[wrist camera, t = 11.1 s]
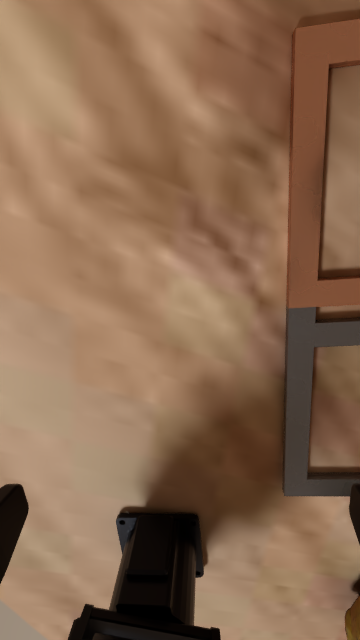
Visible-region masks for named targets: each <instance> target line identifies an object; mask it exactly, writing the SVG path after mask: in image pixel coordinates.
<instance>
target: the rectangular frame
mask: <svg viewBox="0 0 360 640" xmlns="http://www.w3.org/2000/svg"><path fill="white" fill-rule="evenodd" d="M354 65H360V19H354V20H348V21H341V22H334V23H327V24H320V25H313V26H306V27H299V28H295V30H294V32H293V35H292V72H291V118H290V165H289V211H288V257H287V303H286V349H285V395H284V441H283V488H282V489H283V493H284V496H350V495H351V487H352V485H353V484H360V473H307V469H308V450H309V431H310V412H311V393H312V374H313V355H314V347H330V346H353V345H360V318H341V319H322V320H315V317H316V307H322V306H340V305H358V304H360V276H347V277H332V278H318V260H319V241H320V222H321V203H322V184H323V165H324V146H325V127H326V108H327V89H328V70H329V69H331V68H338V67H346V66H354Z"/></svg>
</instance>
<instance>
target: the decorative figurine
mask: <svg viewBox="0 0 360 640" xmlns="http://www.w3.org/2000/svg"><path fill="white" fill-rule="evenodd" d="M345 630H346V635H347V640H360V595H359V597H358V598H357V599H356V600H355V602H354V603H353V605H352V606H351V608H349V609H348V610H347V612H346V614H345Z"/></svg>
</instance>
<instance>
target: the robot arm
mask: <svg viewBox="0 0 360 640" xmlns="http://www.w3.org/2000/svg"><path fill="white" fill-rule="evenodd" d="M28 509H29V507H28V502H27V499H26V496H25V492H24V489H23V487H22V485H21V484H6V485H4V486H3V487H1V488H0V584H1V581H2V579H3V577H4V575H5V572H6V570H7V567H8V565H9V562H10V560H11V557H12V554H13V552H14V549H15V546H16V544H17V541H18V538H19V536H20V533H21V531H22V528H23V525H24V523H25V520H26V517H27V514H28ZM349 512H350V517H351V520H352V523H353V526H354V529H355V532H356V535H357V538H358V541H359V544H360V484H353V485H352V487H351V495H350V505H349ZM116 525H117V530H118V535H119V540H120V545H121V550H122V559H121V563H120V567H119V571H118V575H117V579H116V583H115V587H114V591H113V595H112V599H111V603H110V607H109V610H107V609H101V608H96V607H94V605H90V604H85V606H84V609H83V612H82V614H81V617H80V618H77V619H76V620H74V622H73V625H72V628H71V631H70V634H69V637H68V640H221V638H220V629H219V628H214V627H211V628H210V629H209V628H203V627H198V626H194V607H195V577H196V578H198V577H202V576H203V574H204V566H203V555H202V543H201V532H200V521H199V517H198V516H197V515H195V514H153V513H121V514H119V515H118V516H117V520H116Z"/></svg>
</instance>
